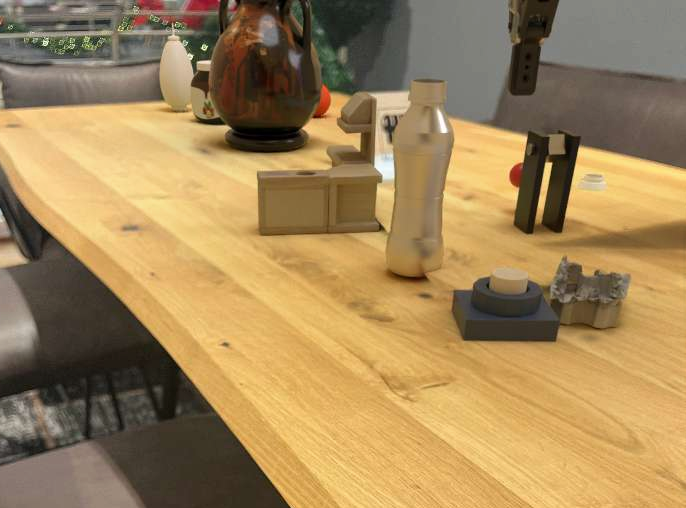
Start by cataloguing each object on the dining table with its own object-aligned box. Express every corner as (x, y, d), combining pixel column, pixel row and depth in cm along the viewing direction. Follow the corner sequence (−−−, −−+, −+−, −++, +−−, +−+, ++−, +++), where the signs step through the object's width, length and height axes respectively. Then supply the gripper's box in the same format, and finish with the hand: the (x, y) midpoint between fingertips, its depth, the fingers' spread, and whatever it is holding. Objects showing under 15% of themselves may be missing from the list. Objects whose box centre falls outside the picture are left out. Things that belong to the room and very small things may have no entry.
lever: (506, 191, 105) (504, 167, 105) (527, 190, 106) (526, 167, 106) (545, 157, 94) (543, 131, 93) (569, 157, 94) (568, 130, 94)
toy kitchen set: (248, 199, 116) (244, 87, 107) (356, 196, 118) (360, 86, 109) (261, 236, 101) (257, 109, 92) (384, 231, 103) (392, 107, 94)
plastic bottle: (434, 287, 86) (455, 86, 74) (376, 279, 88) (388, 82, 76) (446, 269, 91) (468, 79, 79) (391, 262, 93) (404, 75, 81)
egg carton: (554, 289, 86) (562, 252, 83) (624, 299, 84) (634, 262, 81) (540, 322, 78) (547, 283, 75) (617, 334, 75) (627, 294, 73)
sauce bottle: (181, 114, 178) (173, 24, 167) (156, 111, 181) (147, 22, 171) (202, 110, 183) (197, 22, 173) (177, 107, 186) (170, 20, 176)
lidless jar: (612, 199, 119) (597, 191, 123) (617, 179, 117) (601, 171, 121) (582, 200, 118) (568, 192, 122) (586, 179, 116) (572, 172, 120)
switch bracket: (500, 231, 104) (516, 128, 96) (549, 229, 105) (568, 127, 97) (520, 247, 98) (539, 139, 91) (571, 244, 99) (593, 137, 92)
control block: (536, 311, 80) (543, 273, 78) (556, 342, 74) (564, 302, 71) (451, 309, 80) (455, 272, 78) (463, 341, 74) (468, 301, 71)
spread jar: (187, 121, 170) (182, 61, 164) (220, 115, 178) (217, 57, 171) (228, 127, 165) (225, 66, 158) (260, 120, 173) (259, 61, 166)
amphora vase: (339, 140, 154) (344, -28, 138) (288, 160, 139) (287, -26, 122) (248, 130, 162) (243, -30, 146) (190, 148, 147) (176, -29, 130)
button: (521, 284, 76) (524, 267, 75) (529, 297, 74) (532, 279, 72) (485, 284, 76) (488, 266, 75) (492, 297, 74) (495, 279, 72)
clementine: (319, 112, 182) (320, 79, 178) (339, 116, 178) (341, 82, 174) (294, 116, 178) (294, 81, 174) (314, 120, 174) (315, 84, 170)
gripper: (628, -180, 52) (580, 105, 62) (584, -157, 62) (550, 83, 72) (515, -176, 52) (486, 106, 62) (491, -153, 63) (470, 84, 73)
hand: (520, 93), depth 67 cm, fingers closed
